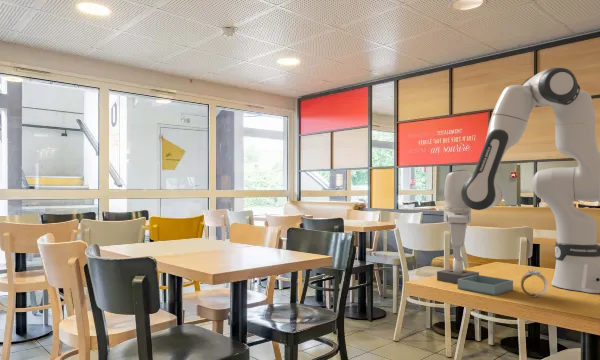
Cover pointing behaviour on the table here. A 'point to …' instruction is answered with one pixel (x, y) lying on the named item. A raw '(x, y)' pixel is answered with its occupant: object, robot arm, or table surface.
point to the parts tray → (485, 284)
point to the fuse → (458, 265)
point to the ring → (528, 274)
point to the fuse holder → (453, 275)
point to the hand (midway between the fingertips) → (456, 257)
